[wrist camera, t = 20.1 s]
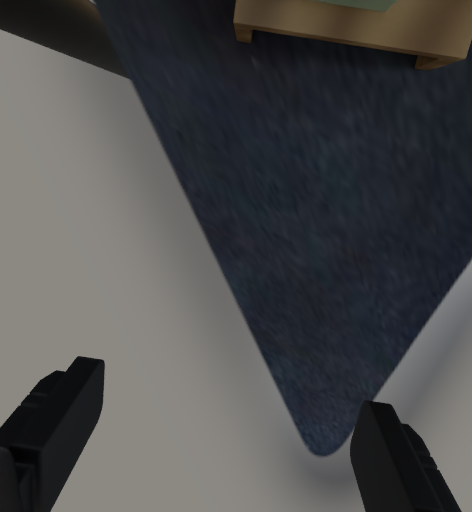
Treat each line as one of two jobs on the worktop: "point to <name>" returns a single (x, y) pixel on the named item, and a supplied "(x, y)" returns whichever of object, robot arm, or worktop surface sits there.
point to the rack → (368, 26)
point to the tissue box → (363, 4)
